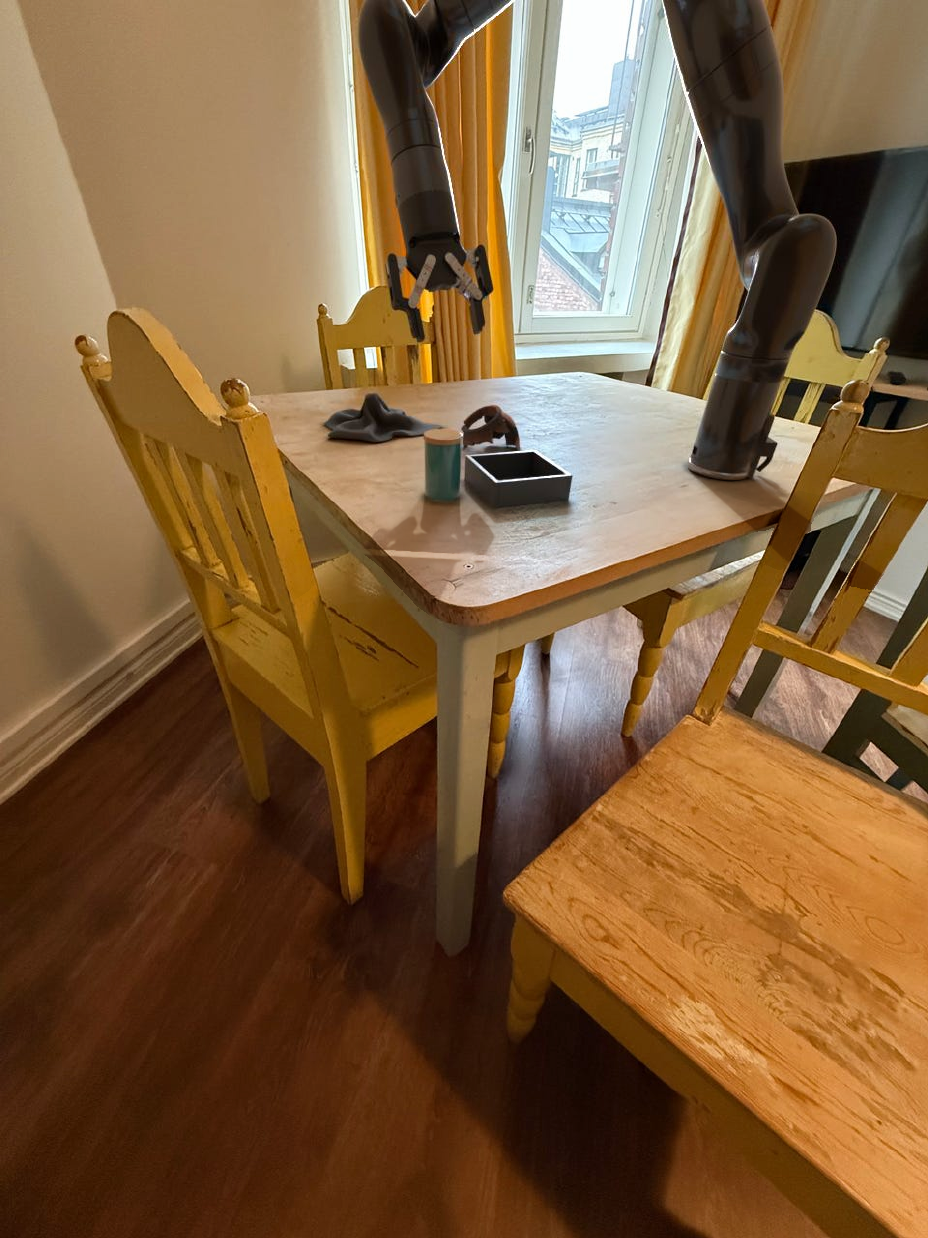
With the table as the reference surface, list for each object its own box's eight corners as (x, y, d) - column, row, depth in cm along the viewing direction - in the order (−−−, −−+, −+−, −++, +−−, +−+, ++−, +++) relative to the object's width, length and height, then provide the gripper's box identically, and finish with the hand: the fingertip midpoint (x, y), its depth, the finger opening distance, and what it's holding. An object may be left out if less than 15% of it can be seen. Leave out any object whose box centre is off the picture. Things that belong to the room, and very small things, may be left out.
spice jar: (461, 491, 74) (463, 429, 69) (459, 505, 69) (461, 440, 65) (425, 489, 74) (425, 427, 69) (422, 503, 70) (421, 438, 65)
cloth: (334, 447, 88) (330, 408, 84) (312, 419, 101) (307, 385, 98) (454, 435, 96) (455, 400, 92) (418, 411, 110) (418, 380, 106)
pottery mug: (525, 463, 86) (506, 420, 81) (473, 481, 90) (452, 442, 84) (525, 425, 94) (507, 384, 88) (478, 444, 97) (458, 405, 92)
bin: (532, 475, 80) (535, 449, 78) (568, 503, 71) (572, 475, 69) (464, 482, 76) (465, 455, 74) (493, 512, 68) (495, 482, 66)
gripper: (376, 190, 63) (406, 336, 68) (484, 182, 67) (506, 321, 71) (369, 221, 70) (396, 351, 75) (467, 212, 74) (488, 337, 78)
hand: (450, 336), depth 73 cm, fingers open, 8 cm apart
